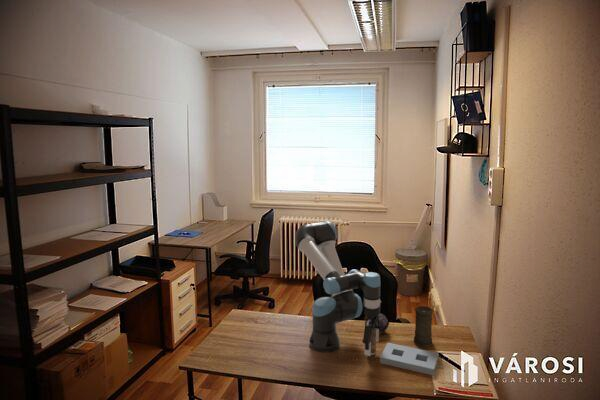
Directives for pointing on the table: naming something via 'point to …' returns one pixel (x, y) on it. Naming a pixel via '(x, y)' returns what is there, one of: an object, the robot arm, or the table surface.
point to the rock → (383, 323)
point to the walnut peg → (373, 345)
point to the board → (409, 358)
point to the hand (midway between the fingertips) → (371, 348)
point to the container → (423, 326)
